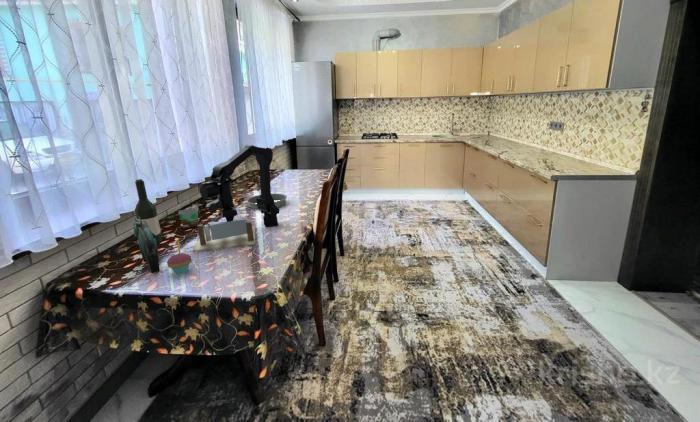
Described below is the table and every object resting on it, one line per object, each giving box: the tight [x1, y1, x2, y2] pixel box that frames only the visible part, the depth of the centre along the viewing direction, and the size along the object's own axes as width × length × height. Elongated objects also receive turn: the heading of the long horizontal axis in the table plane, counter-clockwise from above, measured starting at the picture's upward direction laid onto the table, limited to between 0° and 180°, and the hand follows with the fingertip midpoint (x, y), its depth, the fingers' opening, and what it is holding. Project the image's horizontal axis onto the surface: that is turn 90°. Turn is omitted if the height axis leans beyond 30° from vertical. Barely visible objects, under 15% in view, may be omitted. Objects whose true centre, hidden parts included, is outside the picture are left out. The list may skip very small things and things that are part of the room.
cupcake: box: [166, 240, 192, 275], centre depth 133 cm, size 9×8×12 cm
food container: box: [177, 203, 200, 229], centre depth 187 cm, size 12×6×10 cm, turn 168°
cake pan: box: [246, 193, 288, 211], centre depth 222 cm, size 25×25×4 cm
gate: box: [203, 217, 247, 241], centre depth 161 cm, size 18×2×7 cm, turn 117°
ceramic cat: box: [132, 216, 161, 274], centre depth 139 cm, size 20×6×20 cm, turn 37°
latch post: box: [245, 219, 254, 241], centre depth 160 cm, size 3×3×9 cm
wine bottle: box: [134, 178, 163, 245], centre depth 162 cm, size 8×8×30 cm
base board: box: [192, 225, 257, 253], centre depth 166 cm, size 26×24×1 cm
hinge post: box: [196, 223, 206, 245], centre depth 157 cm, size 2×2×9 cm
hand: (229, 226), depth 164 cm, fingers closed
